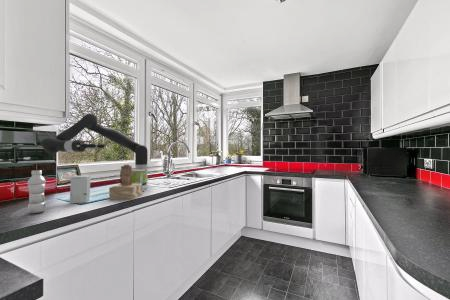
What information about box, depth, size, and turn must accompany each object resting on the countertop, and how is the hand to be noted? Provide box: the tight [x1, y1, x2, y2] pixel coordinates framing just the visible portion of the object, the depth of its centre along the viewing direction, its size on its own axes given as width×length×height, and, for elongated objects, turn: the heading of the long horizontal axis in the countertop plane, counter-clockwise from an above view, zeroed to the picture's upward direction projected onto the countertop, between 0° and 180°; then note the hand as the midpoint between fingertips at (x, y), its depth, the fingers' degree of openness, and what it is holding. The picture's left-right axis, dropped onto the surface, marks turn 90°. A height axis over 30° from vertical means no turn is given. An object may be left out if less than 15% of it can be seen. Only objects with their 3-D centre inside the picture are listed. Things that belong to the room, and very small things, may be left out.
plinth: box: [108, 183, 143, 200], centre depth 128 cm, size 14×14×7 cm
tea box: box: [119, 169, 147, 191], centre depth 148 cm, size 15×10×15 cm
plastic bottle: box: [27, 169, 47, 214], centre depth 96 cm, size 6×7×20 cm
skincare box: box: [69, 175, 91, 204], centre depth 116 cm, size 8×6×15 cm
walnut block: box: [120, 164, 133, 186], centre depth 128 cm, size 4×4×13 cm
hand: (100, 146), depth 130 cm, fingers open, 8 cm apart
